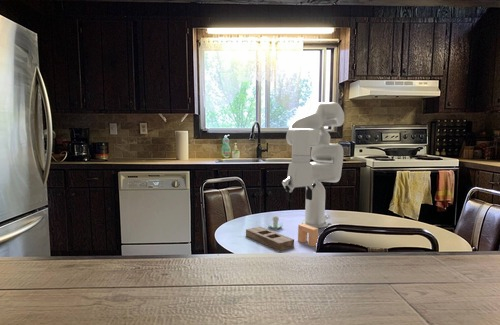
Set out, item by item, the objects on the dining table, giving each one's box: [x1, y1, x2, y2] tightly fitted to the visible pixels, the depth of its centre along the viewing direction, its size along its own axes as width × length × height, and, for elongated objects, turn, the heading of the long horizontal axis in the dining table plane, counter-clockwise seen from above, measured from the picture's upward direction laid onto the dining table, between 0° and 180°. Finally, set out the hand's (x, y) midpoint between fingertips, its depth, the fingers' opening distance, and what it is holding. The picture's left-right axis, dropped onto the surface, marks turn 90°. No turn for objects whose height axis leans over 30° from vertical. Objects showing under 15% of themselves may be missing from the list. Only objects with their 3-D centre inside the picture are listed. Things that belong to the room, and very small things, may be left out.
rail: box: [245, 226, 295, 251], centre depth 141 cm, size 8×22×3 cm, turn 37°
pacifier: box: [267, 215, 284, 230], centre depth 160 cm, size 7×6×6 cm
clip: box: [297, 223, 319, 247], centre depth 139 cm, size 3×8×7 cm, turn 37°
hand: (299, 200), depth 137 cm, fingers open, 9 cm apart
